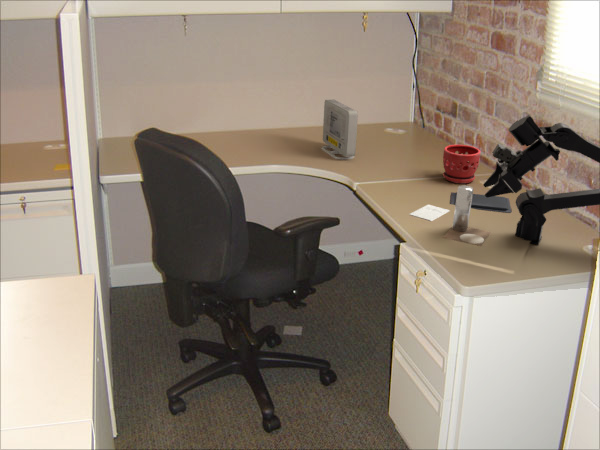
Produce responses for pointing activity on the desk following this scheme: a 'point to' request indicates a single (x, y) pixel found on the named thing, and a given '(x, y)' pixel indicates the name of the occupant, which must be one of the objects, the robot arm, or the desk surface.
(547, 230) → the desk surface
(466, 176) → the plant pot
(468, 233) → the board
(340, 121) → the network device
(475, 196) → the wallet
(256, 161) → the desk surface
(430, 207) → the external hard drive
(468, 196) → the steel pin
